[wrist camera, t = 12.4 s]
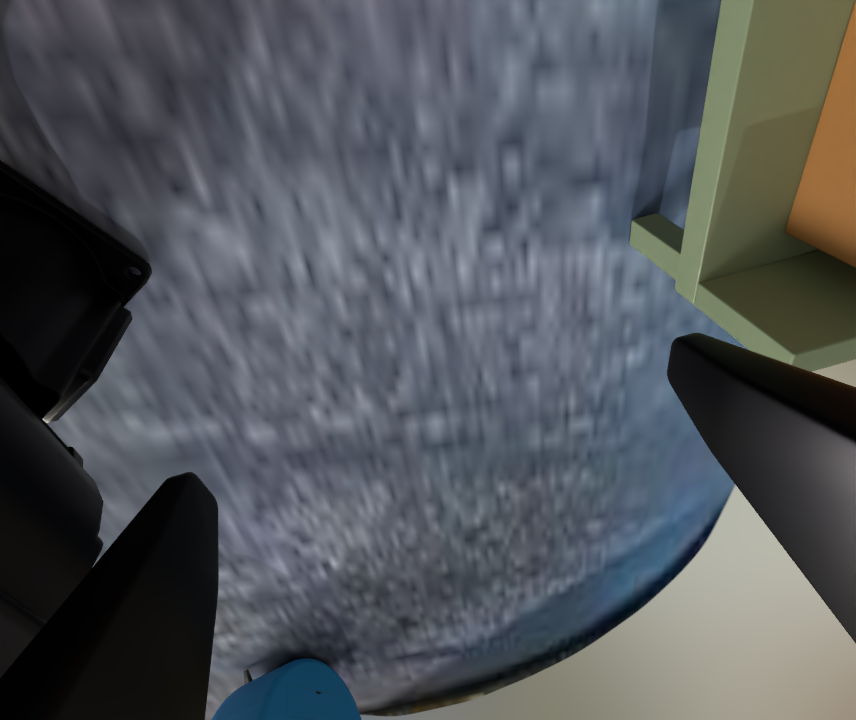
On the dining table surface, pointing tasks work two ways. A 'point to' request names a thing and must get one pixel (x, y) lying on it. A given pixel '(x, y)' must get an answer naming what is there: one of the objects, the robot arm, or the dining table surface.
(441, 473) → the dining table surface
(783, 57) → the green toy bench
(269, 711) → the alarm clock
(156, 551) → the robot arm
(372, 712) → the dining table surface
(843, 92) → the case
